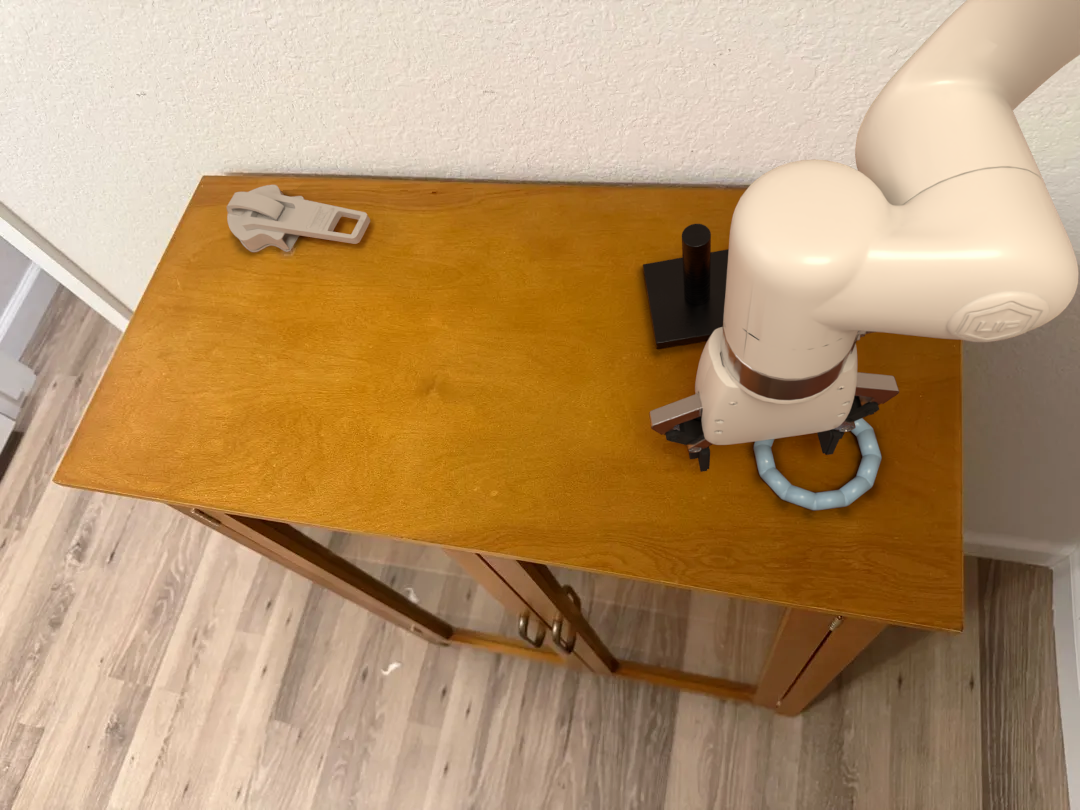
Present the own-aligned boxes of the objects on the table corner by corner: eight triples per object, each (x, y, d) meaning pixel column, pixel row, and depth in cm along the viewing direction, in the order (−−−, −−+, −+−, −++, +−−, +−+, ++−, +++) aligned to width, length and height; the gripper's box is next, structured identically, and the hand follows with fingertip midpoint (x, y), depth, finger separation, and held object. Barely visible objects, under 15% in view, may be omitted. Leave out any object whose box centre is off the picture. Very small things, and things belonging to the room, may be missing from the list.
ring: (860, 394, 66) (863, 387, 65) (892, 502, 62) (896, 496, 61) (744, 411, 68) (745, 405, 66) (768, 518, 63) (769, 513, 62)
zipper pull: (358, 273, 83) (341, 249, 79) (224, 246, 88) (202, 222, 84) (387, 215, 86) (372, 189, 82) (255, 192, 91) (236, 167, 87)
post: (736, 254, 75) (740, 183, 66) (754, 333, 71) (762, 269, 62) (643, 271, 76) (635, 203, 67) (656, 349, 72) (649, 288, 63)
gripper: (914, 265, 48) (860, 389, 63) (635, 310, 50) (647, 419, 65) (953, 371, 44) (885, 475, 59) (651, 414, 46) (661, 504, 61)
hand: (761, 446), depth 62 cm, fingers open, 9 cm apart
